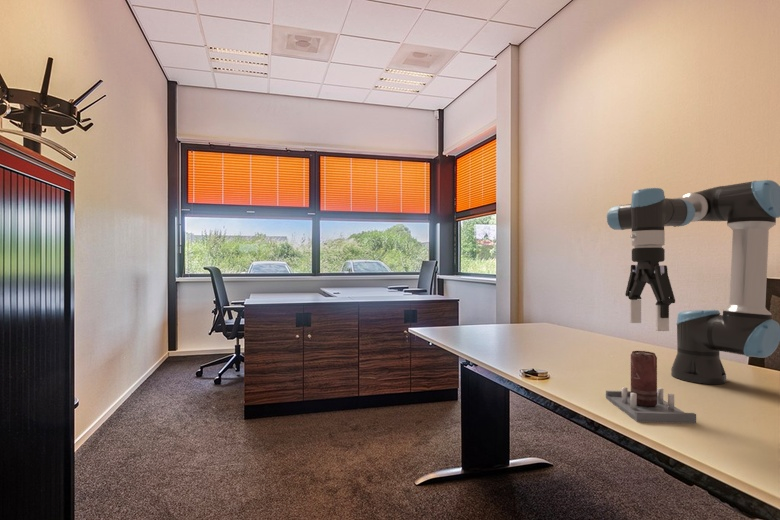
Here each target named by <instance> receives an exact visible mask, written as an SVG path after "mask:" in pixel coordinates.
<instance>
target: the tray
mask: <svg viewBox="0 0 780 520" xmlns="http://www.w3.org/2000/svg"><path fill="white" fill-rule="evenodd" d="M605 399H606V400H608V401H609V402H610V403H612V404H613V405H614V406H616V407H617V408H618V409H620V410H621V411H622V412H623V413H624V414H626V415H628V416H629V417H630V418H631V419H632V420H634V421H635V422H637V423H640V422H641V423H673V424H674V423H675V424H677V423H678V424H697V413H695V412H684V411H683V410H681V409H680V408H678V407H676V406H675V394H673V393H667V401H666V400H664V388H662V387H657V405H656V406H655V407H642V406H638V405H637V394H636V393H631V390H628V387H624V386H623V387H621V390H605Z"/></svg>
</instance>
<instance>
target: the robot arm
mask: <svg viewBox="0 0 780 520" xmlns="http://www.w3.org/2000/svg"><path fill="white" fill-rule="evenodd" d="M777 218H780V185H779V184H778V182H776V181H774V180H771V179H764V180H753V181H746V182H741V183H735V184H728V185H719V186H714V187H709V188H708V189H707V188H706V189H703V190H700V191H695V192H689V193H686V194H684V195H682V196H681V197H674V198H671V197H670V198H667V197H666V195H665V191H664V190H663V188H660V187H649V188H640V189H637V190H634V191H633V192H632V194H631V203H627V204H619V205H615V206H612V207H610V208H609V210H608V211H607V213H606V221H607V222H606V223H607V225H608V226H609V228H611V229H612V230H616V231H619V230H620V231H624V230H631V235H630V238H631V246H632V249H631V261H632V262H634V263H637V264H630V273H629V277H628V281H627V286H626V291H625V297H628V299H629V323H631V324H641V323H642V299H643V298H642V293H643V291H644V288H645V287H646V284H648V285H650V288H651V290H652V292H653V293H652V294H653V296H654V297H655V299H656V303H655V331H657V332H669V331H670V306H671V304H675V303H676V298H675V295H674V291H673V288H672V283H671V281H670V278H669V274H668V273H669V272H668V266H667V265H664V264H663V265H661V264H660V263H661V262H664V261H665V259H666V257H665V252H666V251H665V248H664V247H663V246H665V241H666V239H665V236H666V235H665V227H675V228H676V227H677V228H678V227H685V226H687V225H689V224H690V223H691V222H692V223H695V222H726V225H727V227H729V228H730V229H731V230H732V243H731V263H730V265H731V266H730V282H729V283H730V284H729V303H728V306H726V307H725V308H724V309H722V314H721V312H720V310H718V309H697V310H696V309H695V310H682V311H679V313H678V314H677V316H676V317H677V319H676V332H677V333H676V337H677V338H676V340H677V341H676V344H677V345H676V347H677V348H676V349H677V351H676V355H675V358H674V360H673V363H672V366H671V368H670V369H671V370H670V371H671V372H670V374H671V376H672V377H674V378H675V379H678V380H682V381H686V382H691V383H696V384H705V385H706V384H707V385H722V384H723V385H724V384H726V383H727V374H726V371H725V368H724V365H723V363H722V361H721V358H720V352H723V353H728V354H735V355H741V356H745V357H750V358H751V357H753V358H761V359H762V358H763V359H764V358H765V359H766V358H768V357H769V356H772V355H773V353H774V352H775V351H776V350H777V348H778V347H779V345H780V324H779V322H778V321H776V320H774V319H773V318H772V316H773V315H772V314H773V313H771V312H770V311H769V310H768V309H767V307H766V303H767V302H766V300H767V297H766V296H767V280H768V279H767V278H768V257H769V256H768V255H769V236H770V235H769V233H770V232H769V230H770V229H772V228H773V227H774V226H776V224H777V223H776V222H777Z"/></svg>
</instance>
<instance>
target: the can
mask: <svg viewBox="0 0 780 520" xmlns="http://www.w3.org/2000/svg"><path fill="white" fill-rule="evenodd" d="M657 388H658V357H657V355H656V353H655V352H652V351H646V350H633V351H631V353H630V391H631V393H636V394H637V405H638V406H642V407H655V406H656V405H657Z"/></svg>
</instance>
